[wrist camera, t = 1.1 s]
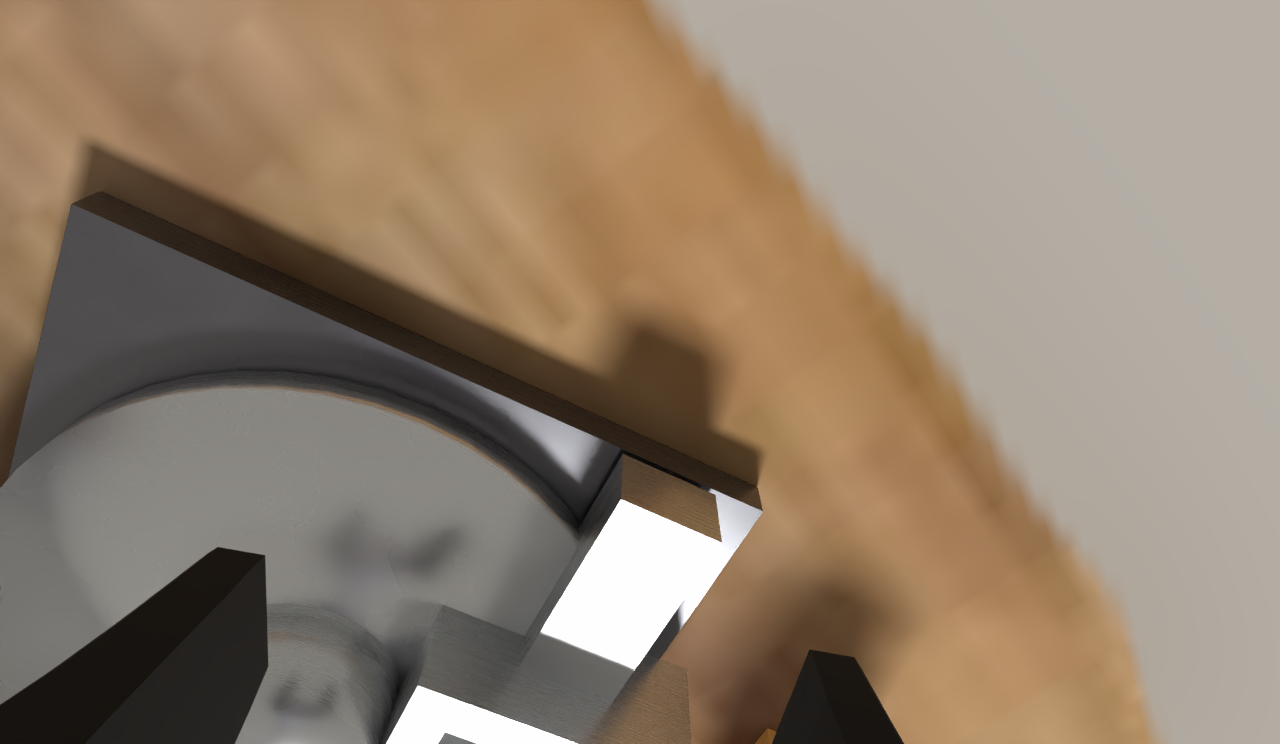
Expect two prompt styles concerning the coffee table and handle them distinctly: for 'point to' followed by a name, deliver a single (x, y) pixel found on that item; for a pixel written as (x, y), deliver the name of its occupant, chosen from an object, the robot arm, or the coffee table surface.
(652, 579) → the disc on square base
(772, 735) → the tan rectangular box
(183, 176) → the coffee table surface
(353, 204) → the coffee table surface
